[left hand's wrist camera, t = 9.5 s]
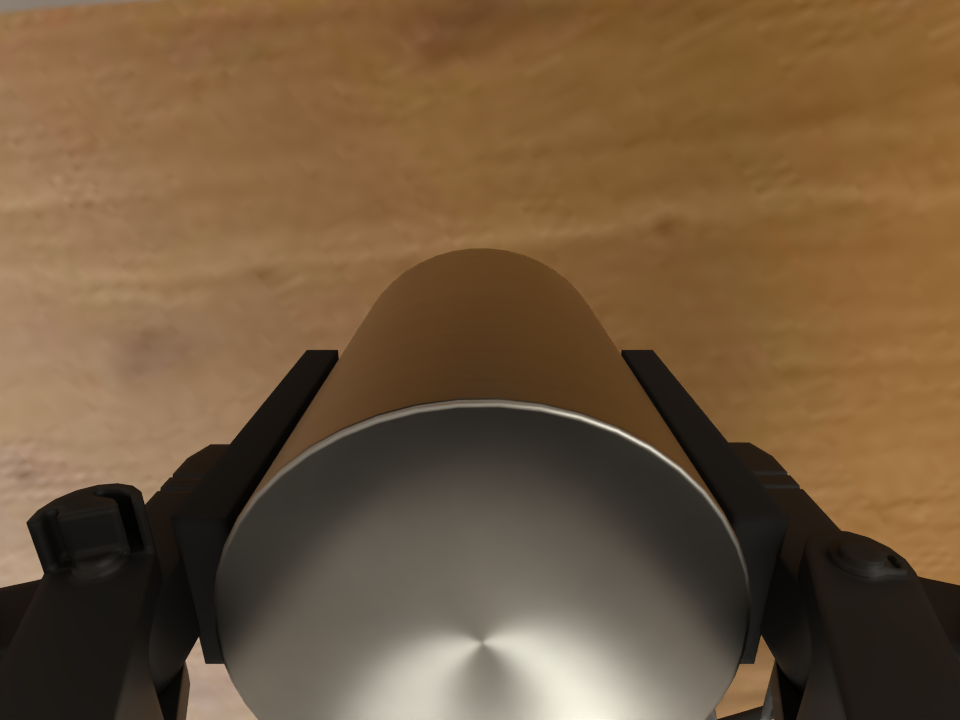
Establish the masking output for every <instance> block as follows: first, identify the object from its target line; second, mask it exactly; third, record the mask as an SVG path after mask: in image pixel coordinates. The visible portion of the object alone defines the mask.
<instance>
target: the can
mask: <svg viewBox="0 0 960 720" xmlns="http://www.w3.org/2000/svg"><path fill="white" fill-rule="evenodd" d="M213 608H214V623H215V633H216V637H217V641H218V645H219V649H220V653H221V657H222V660H223V662H224V664H225V667H226V669H227V671H228V674H229V676H230V679H231V681H232V683H233V684H234V686H235V688H236V689H237V691H238V693H239V694H240V696H241V697H242V699H243V701H244V702H245V704H246V705H247V706H248V708H249V709H250V710H251V711H252V713H253V714H254V715H255V716H256V717H257V719H258V720H706V719H707V718H708V716H709V715H710V714H711V713H712V711H713V710H714V709H715V707H716V706H717V705H718V704H719V702H720V701H721V700H722V698H723V696H724V694H725V693H726V691H727V689H728V688H729V686H730V684H731V682H732V681H733V679H734V677H735V675H736V672H737V670H738V667H739V665H740V662H741V659H742V657H743V654H744V652H745V647H746V642H747V638H748V633H749V628H750V614H751V591H750V584H749V577H748V569H747V565H746V562H745V559H744V556H743V553H742V550H741V546H740V543H739V540H738V538H737V536H736V534H735V533H734V531H733V529H732V527H731V525H730V523H729V521H728V519H727V517H726V515H725V513H724V512H723V510H722V509H721V507H720V506H719V504H718V503H717V501H716V500H715V498H714V497H713V495H712V493H711V492H710V490H709V489H708V487H707V486H706V484H705V483H704V481H703V480H702V478H701V477H700V475H699V474H698V472H697V471H696V469H695V467H694V466H693V464H692V463H691V461H690V460H689V458H688V457H687V455H686V454H685V452H684V451H683V449H682V448H681V446H680V444H679V443H678V441H677V440H676V438H675V437H674V435H673V434H672V432H671V431H670V429H669V428H668V426H667V425H666V423H665V422H664V420H663V418H662V417H661V415H660V414H659V412H658V411H657V409H656V408H655V406H654V405H653V403H652V402H651V400H650V399H649V397H648V396H647V394H646V392H645V391H644V389H643V388H642V386H641V385H640V383H639V382H638V380H637V379H636V377H635V376H634V374H633V373H632V371H631V369H630V368H629V366H628V365H627V363H626V362H625V360H624V359H623V357H622V356H621V354H620V353H619V351H618V350H617V348H616V347H615V345H614V343H613V342H612V340H611V339H610V337H609V336H608V334H607V333H606V331H605V330H604V328H603V327H602V325H601V324H600V322H599V321H598V319H597V317H596V316H595V314H594V313H593V311H592V310H591V308H590V307H589V305H588V304H587V303H586V301H585V300H584V298H583V297H582V296H581V294H580V293H579V292H578V291H577V290H576V289H575V288H574V287H573V286H572V285H571V284H570V283H569V282H568V281H567V280H566V279H565V278H564V277H562V276H561V275H560V274H558V273H557V272H556V271H554V270H553V269H551V268H549V267H548V266H546V265H544V264H542V263H541V262H539V261H536V260H534V259H531V258H529V257H526V256H524V255H521V254H517V253H513V252H509V251H504V250H496V249H465V250H459V251H452V252H449V253H445V254H442V255H438V256H435V257H433V258H431V259H428V260H426V261H424V262H421V263H419V264H418V265H416V266H414V267H413V268H411V269H409V270H408V271H406V272H405V273H404V274H402V275H401V276H400V277H399V278H397V279H396V280H395V281H394V282H392V283H391V285H390V286H389V287H388V288H387V289H386V290H385V291H384V292H383V293H382V294H381V295H380V297H379V298H378V300H377V301H376V303H375V304H374V305H373V307H372V308H371V310H370V311H369V313H368V315H367V316H366V318H365V319H364V321H363V322H362V324H361V326H360V327H359V329H358V330H357V332H356V333H355V335H354V336H353V338H352V340H351V341H350V343H349V344H348V346H347V347H346V349H345V351H344V352H343V354H342V355H341V357H340V358H339V360H338V362H337V363H336V365H335V366H334V368H333V369H332V371H331V372H330V374H329V376H328V377H327V379H326V380H325V382H324V383H323V385H322V387H321V388H320V390H319V391H318V393H317V394H316V396H315V398H314V399H313V401H312V402H311V404H310V405H309V407H308V408H307V410H306V412H305V413H304V415H303V416H302V418H301V419H300V421H299V423H298V424H297V426H296V427H295V429H294V430H293V432H292V433H291V435H290V437H289V438H288V440H287V441H286V443H285V444H284V446H283V448H282V449H281V451H280V452H279V454H278V455H277V457H276V459H275V460H274V462H273V463H272V465H271V466H270V468H269V469H268V471H267V473H266V474H265V476H264V477H263V479H262V480H261V482H260V484H259V485H258V487H257V488H256V490H255V491H254V493H253V495H252V496H251V498H250V499H249V501H248V502H247V504H246V505H245V507H244V509H243V510H242V512H241V513H240V515H239V516H238V518H237V520H236V522H235V524H234V526H233V528H232V530H231V532H230V534H229V536H228V538H227V540H226V543H225V545H224V548H223V551H222V554H221V558H220V561H219V565H218V568H217V572H216V579H215V589H214V598H213Z"/></svg>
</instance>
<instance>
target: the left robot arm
mask: <svg viewBox="0 0 960 720" xmlns="http://www.w3.org/2000/svg"><path fill="white" fill-rule="evenodd" d="M621 356H622V357H623V359H624V360H625V362H626V363H627V365H628V366H629V368H630V369H631V371H632V373H633V374H634V376H635V377H636V379H637V380H638V382H639V383H640V385H641V386H642V388H643V389H644V391H645V392H646V394H647V396H648V397H649V399H650V400H651V402H652V403H653V405H654V406H655V408H656V409H657V411H658V412H659V414H660V415H661V417H662V418H663V420H664V422H665V423H666V425H667V426H668V428H669V429H670V431H671V432H672V434H673V435H674V437H675V438H676V440H677V441H678V443H679V444H680V446H681V448H682V449H683V451H684V452H685V454H686V455H687V457H688V458H689V460H690V461H691V463H692V464H693V466H694V467H695V469H696V471H697V472H698V474H699V475H700V477H701V478H702V480H703V481H704V483H705V484H706V486H707V487H708V489H709V490H710V492H711V493H712V495H713V497H714V498H715V500H716V501H717V503H718V504H719V506H720V507H721V509H722V510H723V512H724V513H725V515H726V517H727V519H728V521H729V523H730V525H731V527H732V529H733V531H734V533H735V534H736V536H737V538H738V540H739V543H740V546H741V550H742V553H743V556H744V559H745V562H746V565H747V569H748V577H749V584H750V591H751V614H750V628H749V633H748V638H747V642H746V647H745V652H744V654H743V657H742V659H741V662H740V664H754V662H755V657H756V653H757V649H758V645H759V641H760V637H761V635H762V637H763V638H764V640H765V642H766V644H767V646H768V647H769V649H770V651H771V653H772V654H773V656H774V658H775V662H774V666H773V669H772V673H771V677H770V681H769V685H768V689H767V693H766V696H765V700H764V704H763V706H761V707H757V708H754V709H751V710H747V711H744V712H741V713H737V714H734V715H730V716H727V717H724V718H720V719H717V718H716V712H715V709H714V710H713V711H712V713H711V714H710V715H709V716H708V718H707V719H706V720H772V719H774V720H960V585H955V584H950V583H945V582H941V581H936V580H931V579H926V578H922V577H918V576H917V574H916V572H915V571H914V570H913V568H912V567H911V566H910V565H909V563H908V562H907V561H906V560H905V559H904V558H903V557H901V556H900V555H899V554H897V553H896V552H895V551H893V550H892V549H891V548H889V547H887V546H885V545H883V544H881V543H879V542H877V541H875V540H873V539H871V538H868V537H865V536H862V535H858V534H855V533H851V532H847V531H841V530H840V529H839V528H838V527H837V526H836V525H835V524H834V523H833V522H832V520H831V519H830V518H829V517H828V516H827V515H826V514H825V513H824V512H823V511H822V510H821V509H820V507H819V506H818V505H817V504H816V503H815V502H814V501H813V500H812V499H811V498H810V497H809V495H808V494H807V493H806V492H805V491H804V490H803V489H800V488H799V485H798V484H797V482H796V481H795V480H794V479H793V478H792V477H791V476H790V475H787V472H786V470H785V469H784V468H783V467H782V466H781V465H780V464H779V463H778V462H777V461H776V460H775V459H774V457H773V456H771V455H769V454H768V453H766V452H764V451H763V450H761V449H759V448H758V447H756V446H754V445H753V444H751V443H728V442H727V440H726V439H725V438H724V437H723V436H722V434H721V433H720V432H719V431H718V429H717V428H716V427H715V426H714V425H713V423H712V422H711V421H710V420H709V418H708V417H707V416H706V415H705V414H704V412H703V411H702V410H701V409H700V407H699V406H698V405H697V404H696V403H695V401H694V400H693V399H692V398H691V396H690V395H689V394H688V393H687V391H686V390H685V389H684V388H683V387H682V385H681V384H680V383H679V382H678V380H677V379H676V378H675V377H674V376H673V374H672V373H671V372H670V371H669V369H668V368H667V367H666V366H665V365H664V363H663V362H662V361H661V360H660V358H659V357H658V356H657V355H656V353H655V352H654V351H653V350H622V353H621ZM338 360H339V357H338V350H307V351H306V352H305V353H304V354H303V355H302V357H301V358H300V359H299V360H298V362H297V363H296V364H295V365H294V367H293V368H292V369H291V370H290V371H289V373H288V374H287V375H286V376H285V378H284V379H283V380H282V381H281V382H280V384H279V385H278V386H277V387H276V389H275V390H274V391H273V392H272V393H271V395H270V396H269V397H268V398H267V400H266V401H265V402H264V403H263V404H262V406H261V407H260V408H259V409H258V411H257V412H256V413H255V414H254V416H253V417H252V418H251V419H250V420H249V422H248V423H247V424H246V425H245V427H244V428H243V429H242V430H241V431H240V433H239V434H238V435H237V436H236V438H235V439H234V440H233V441H232V442H231V444H210V445H209V446H207V447H205V448H204V449H202V450H200V451H199V452H197V453H195V454H194V455H192V456H190V457H189V458H187V459H186V460H185V462H184V463H183V464H182V465H181V466H180V467H179V468H178V469H177V470H176V471H175V473H174V474H173V477H172V478H169V479H168V480H167V481H166V482H165V483H164V485H163V486H162V487H161V490H160V491H157V492H156V493H155V494H154V496H153V497H152V498H151V499H150V500H149V501H148V502H147V503H146V504H144V500H143V496H142V492H141V491H139V490H138V489H137V488H135V487H134V486H131V485H125V484H119V483H115V484H103V485H96V486H92V487H88V488H84V489H80V490H76V491H74V492H71V493H69V494H67V495H64V496H62V497H60V498H57V499H55V500H53V501H52V502H50V503H49V504H47V505H45V506H44V507H42V508H41V509H39V510H38V511H37V512H36V513H35V514H34V515H33V516H32V517H31V518H30V519H29V520H28V521H27V522H26V523H27V526H28V529H29V532H30V534H31V537H32V540H33V543H34V546H35V548H36V551H37V554H38V557H39V560H40V562H41V565H42V568H43V571H44V575H43V577H42V579H40V580H36V581H32V582H27V583H22V584H17V585H13V586H8V587H3V588H0V720H186V714H187V706H188V697H189V689H190V681H189V674H188V669H187V666H186V662H185V660H186V658H187V657H188V655H189V653H190V651H191V650H192V648H193V646H194V644H195V642H196V641H197V639H198V637H199V638H200V643H201V647H202V651H203V655H204V659H205V663H206V664H224V662H223V660H222V657H221V653H220V649H219V645H218V641H217V637H216V633H215V623H214V608H213V598H214V589H215V579H216V572H217V568H218V565H219V561H220V558H221V554H222V551H223V548H224V545H225V543H226V540H227V538H228V536H229V534H230V532H231V530H232V528H233V526H234V524H235V522H236V520H237V518H238V516H239V515H240V513H241V512H242V510H243V509H244V507H245V505H246V504H247V502H248V501H249V499H250V498H251V496H252V495H253V493H254V491H255V490H256V488H257V487H258V485H259V484H260V482H261V480H262V479H263V477H264V476H265V474H266V473H267V471H268V469H269V468H270V466H271V465H272V463H273V462H274V460H275V459H276V457H277V455H278V454H279V452H280V451H281V449H282V448H283V446H284V444H285V443H286V441H287V440H288V438H289V437H290V435H291V433H292V432H293V430H294V429H295V427H296V426H297V424H298V423H299V421H300V419H301V418H302V416H303V415H304V413H305V412H306V410H307V408H308V407H309V405H310V404H311V402H312V401H313V399H314V398H315V396H316V394H317V393H318V391H319V390H320V388H321V387H322V385H323V383H324V382H325V380H326V379H327V377H328V376H329V374H330V372H331V371H332V369H333V368H334V366H335V365H336V363H337V362H338Z"/></svg>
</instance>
